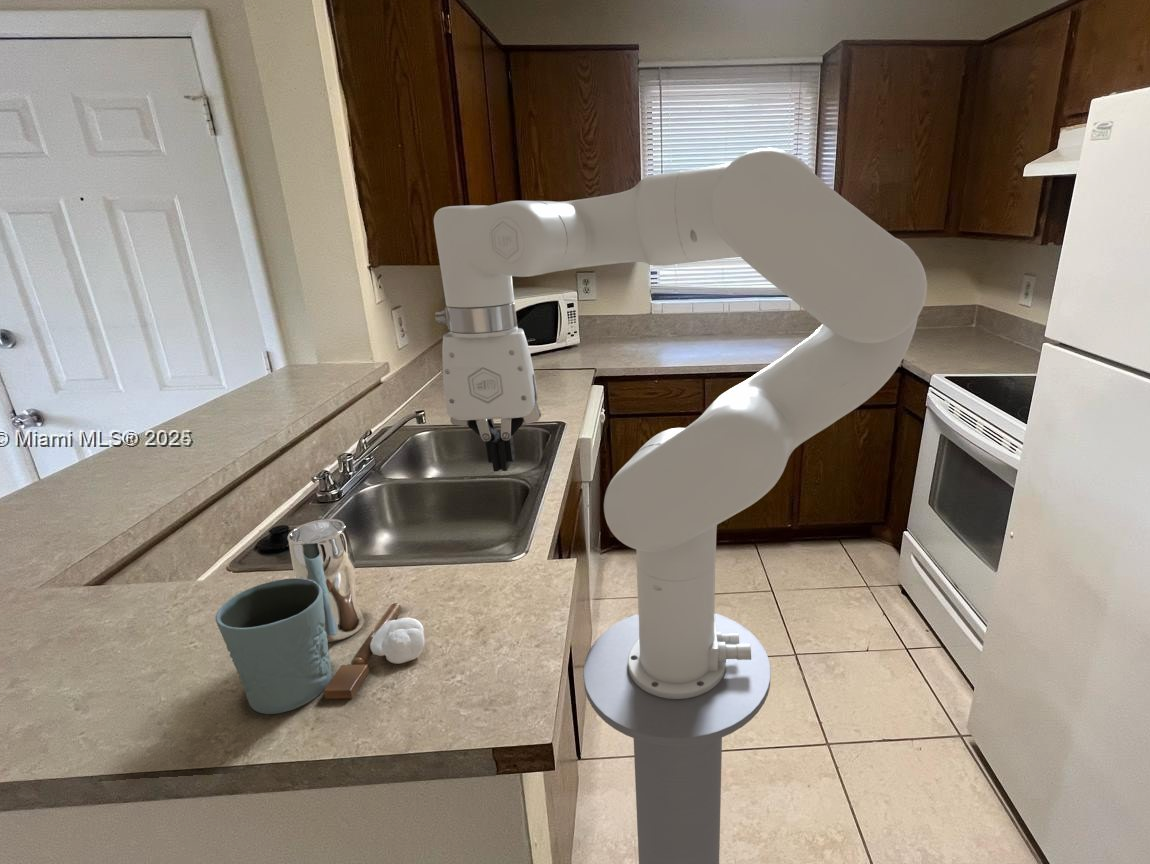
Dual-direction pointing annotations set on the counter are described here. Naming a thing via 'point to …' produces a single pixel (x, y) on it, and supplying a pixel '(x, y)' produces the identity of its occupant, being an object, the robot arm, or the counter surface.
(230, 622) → the teal embossed cup
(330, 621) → the chrome tumbler
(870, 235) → the robot arm
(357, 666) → the wooden spatula
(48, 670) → the counter surface
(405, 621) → the dumpling
